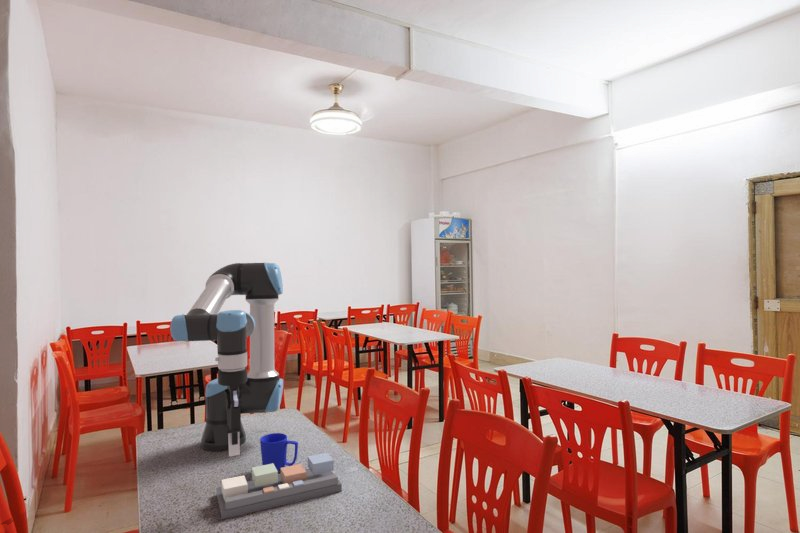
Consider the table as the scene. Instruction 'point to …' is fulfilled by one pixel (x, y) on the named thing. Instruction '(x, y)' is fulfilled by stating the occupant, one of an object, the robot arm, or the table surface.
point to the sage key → (264, 475)
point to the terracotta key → (293, 474)
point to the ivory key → (234, 486)
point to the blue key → (320, 463)
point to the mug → (276, 450)
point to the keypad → (278, 494)
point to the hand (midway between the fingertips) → (234, 454)
